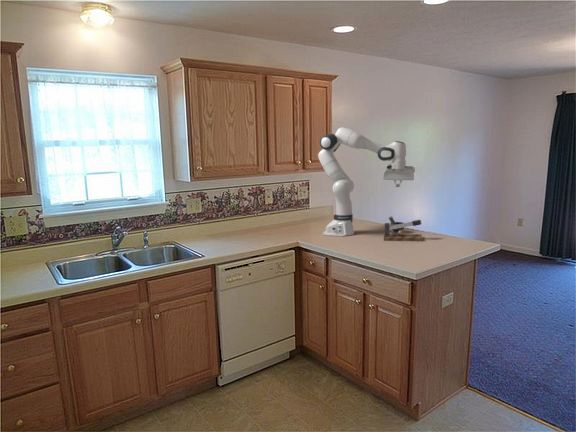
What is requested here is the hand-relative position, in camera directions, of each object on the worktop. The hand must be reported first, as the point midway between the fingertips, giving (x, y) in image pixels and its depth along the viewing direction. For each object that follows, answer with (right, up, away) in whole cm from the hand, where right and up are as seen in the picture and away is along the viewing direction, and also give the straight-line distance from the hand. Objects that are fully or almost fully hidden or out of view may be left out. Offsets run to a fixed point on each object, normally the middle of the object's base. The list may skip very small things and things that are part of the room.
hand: (397, 186), depth 274 cm
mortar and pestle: (+3, -32, +17) cm, 36 cm away
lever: (+4, -27, -4) cm, 27 cm away
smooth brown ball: (+2, -33, -3) cm, 33 cm away
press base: (+3, -35, -3) cm, 35 cm away
